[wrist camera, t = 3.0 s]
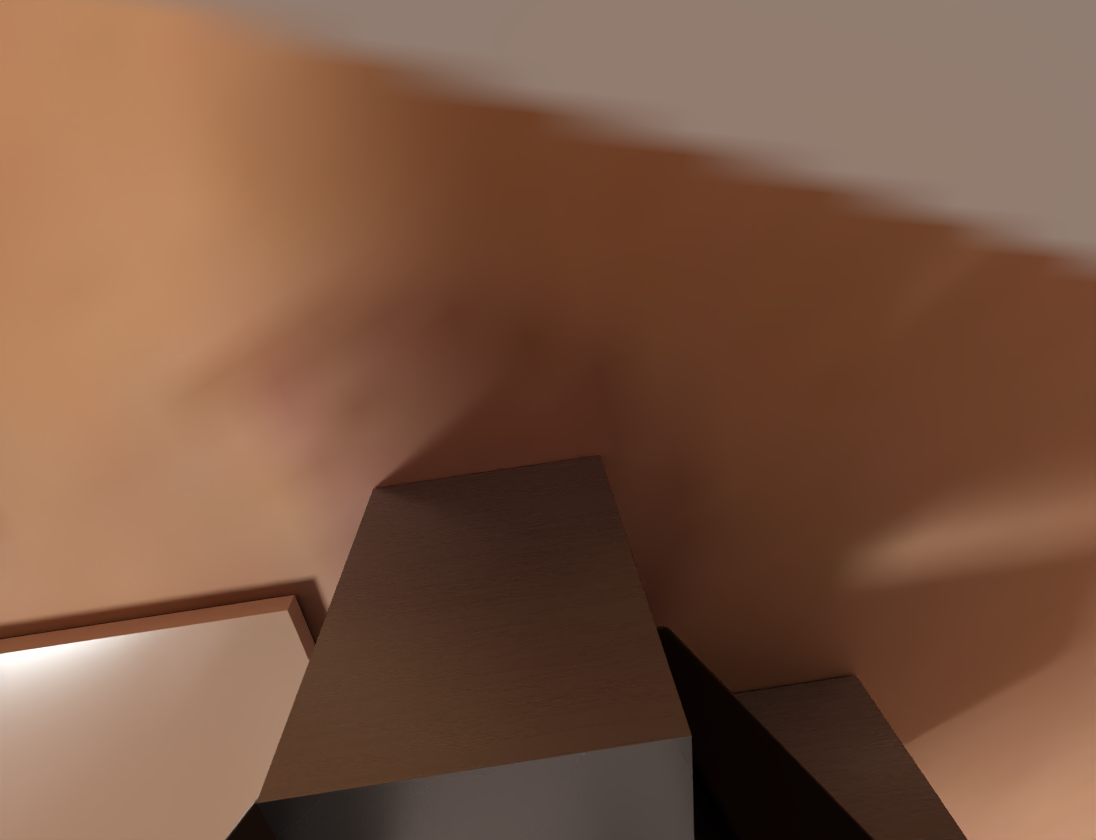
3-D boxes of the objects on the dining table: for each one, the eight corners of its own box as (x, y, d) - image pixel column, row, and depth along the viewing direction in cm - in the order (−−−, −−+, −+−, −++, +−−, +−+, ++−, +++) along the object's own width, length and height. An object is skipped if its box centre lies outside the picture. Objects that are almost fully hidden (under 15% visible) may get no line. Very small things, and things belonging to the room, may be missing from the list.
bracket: (839, 784, 11) (1003, 1091, 7) (480, 840, 11) (470, 1179, 7) (897, 411, 8) (1255, 647, 4) (373, 488, 7) (256, 803, 4)
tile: (429, 921, 12) (428, 939, 12) (45, 984, 12) (35, 1004, 12) (295, 594, 8) (287, 610, 8) (-281, 682, 8) (-309, 700, 8)
